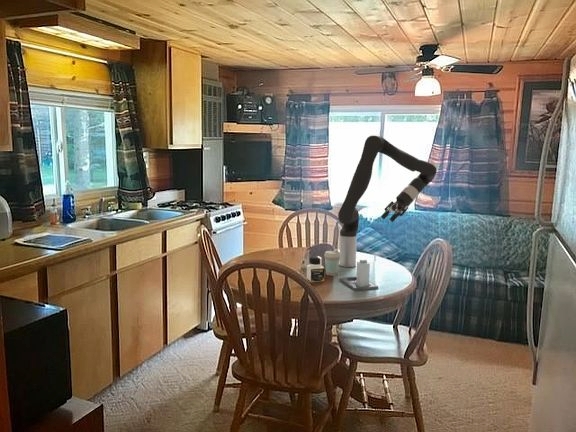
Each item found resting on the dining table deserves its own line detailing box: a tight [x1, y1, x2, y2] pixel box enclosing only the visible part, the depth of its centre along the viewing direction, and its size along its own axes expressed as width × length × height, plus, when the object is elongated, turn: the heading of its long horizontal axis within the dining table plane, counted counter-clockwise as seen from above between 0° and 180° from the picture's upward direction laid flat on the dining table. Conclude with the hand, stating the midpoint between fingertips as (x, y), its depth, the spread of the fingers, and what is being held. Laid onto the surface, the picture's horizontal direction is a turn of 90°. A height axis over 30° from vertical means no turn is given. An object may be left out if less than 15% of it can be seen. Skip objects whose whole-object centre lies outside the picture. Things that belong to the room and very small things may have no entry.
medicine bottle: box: [306, 255, 325, 283], centre depth 241 cm, size 7×7×12 cm
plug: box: [356, 259, 371, 287], centre depth 229 cm, size 4×4×13 cm
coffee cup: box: [323, 250, 340, 277], centre depth 251 cm, size 8×8×12 cm
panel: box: [339, 275, 379, 292], centre depth 234 cm, size 18×12×2 cm, turn 18°
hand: (386, 219), depth 240 cm, fingers open, 8 cm apart
